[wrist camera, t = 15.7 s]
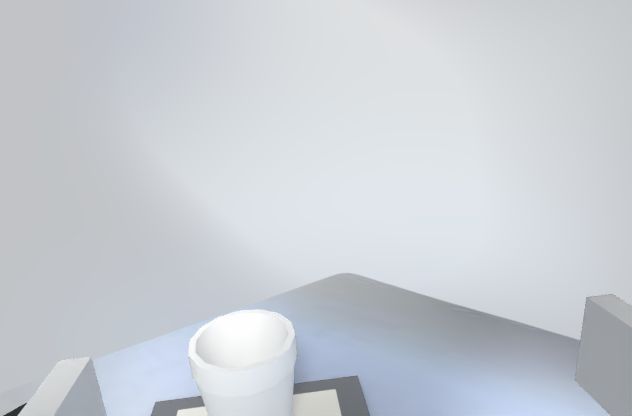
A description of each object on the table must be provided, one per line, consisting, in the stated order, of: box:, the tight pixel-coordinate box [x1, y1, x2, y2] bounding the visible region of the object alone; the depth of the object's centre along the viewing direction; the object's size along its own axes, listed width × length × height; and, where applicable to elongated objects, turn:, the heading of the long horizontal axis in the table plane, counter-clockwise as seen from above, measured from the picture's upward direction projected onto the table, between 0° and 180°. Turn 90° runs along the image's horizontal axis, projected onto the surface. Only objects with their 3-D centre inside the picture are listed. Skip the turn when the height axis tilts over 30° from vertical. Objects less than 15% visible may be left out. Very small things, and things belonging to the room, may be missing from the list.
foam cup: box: [188, 309, 297, 416], centre depth 39 cm, size 10×9×13 cm
